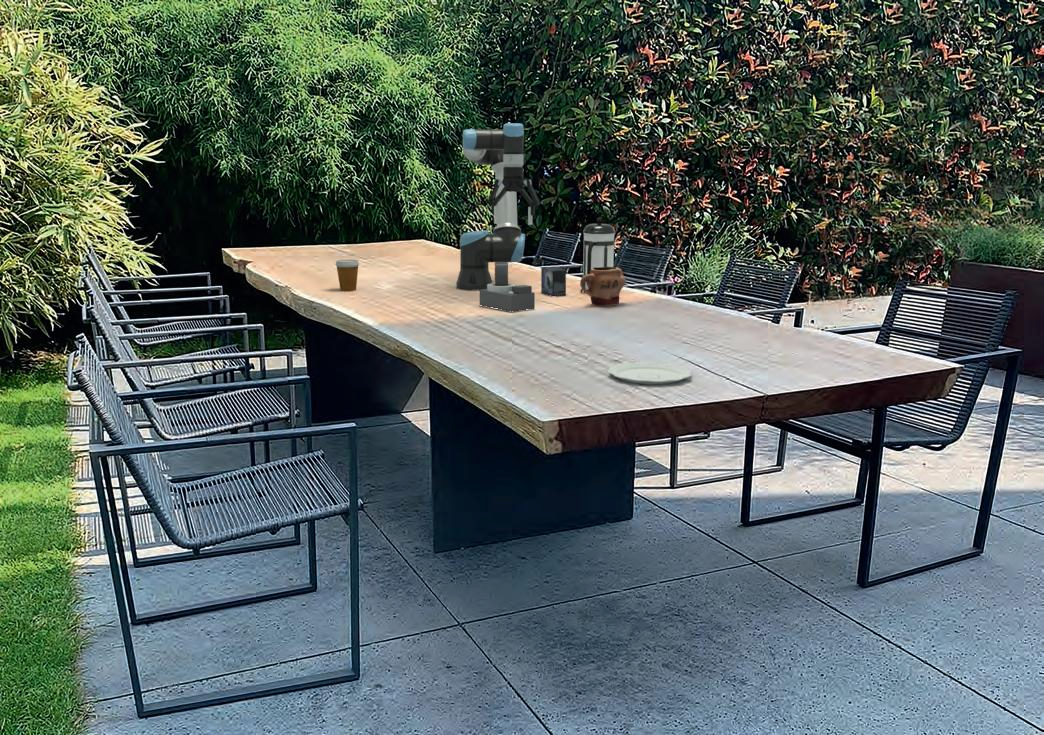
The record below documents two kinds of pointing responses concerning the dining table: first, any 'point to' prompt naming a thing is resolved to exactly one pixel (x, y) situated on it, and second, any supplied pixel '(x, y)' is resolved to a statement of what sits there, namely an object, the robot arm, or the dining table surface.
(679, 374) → the plate
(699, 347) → the dining table surface
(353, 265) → the disposable coffee cup
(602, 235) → the coffee press
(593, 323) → the dining table surface
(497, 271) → the lens
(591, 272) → the brown clay mug
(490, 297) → the camera body
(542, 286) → the small box
